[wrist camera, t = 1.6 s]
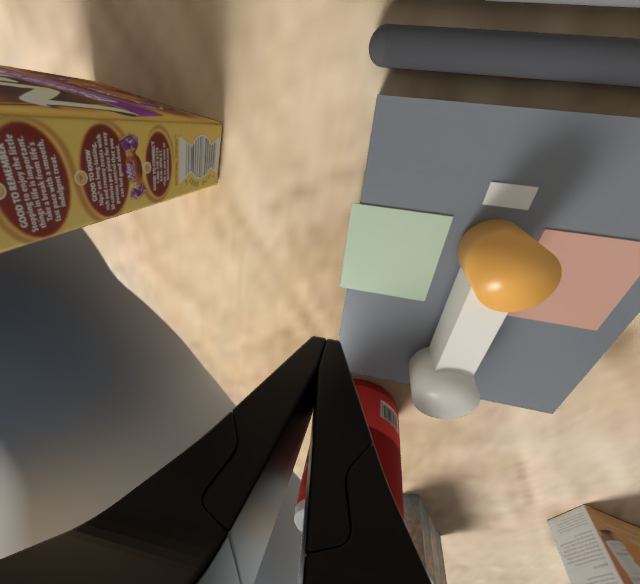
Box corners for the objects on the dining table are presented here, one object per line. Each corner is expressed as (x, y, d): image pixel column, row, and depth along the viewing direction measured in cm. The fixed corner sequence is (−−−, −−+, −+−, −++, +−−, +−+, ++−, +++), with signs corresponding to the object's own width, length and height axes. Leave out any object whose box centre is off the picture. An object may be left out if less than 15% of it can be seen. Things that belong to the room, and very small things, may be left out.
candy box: (224, 115, 18) (-200, 101, 5) (220, 185, 20) (-72, 300, 7) (92, 73, 18) (-659, -50, 5) (103, 146, 20) (-387, 192, 7)
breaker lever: (457, 391, 23) (470, 437, 20) (402, 380, 23) (406, 423, 20) (544, 224, 16) (588, 253, 12) (461, 213, 16) (482, 238, 13)
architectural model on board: (395, 491, 37) (398, 594, 29) (418, 491, 36) (428, 598, 28) (418, 531, 42) (427, 630, 34) (439, 532, 41) (454, 634, 33)
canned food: (327, 368, 27) (298, 494, 18) (408, 389, 27) (422, 531, 18) (315, 415, 32) (287, 537, 22) (386, 434, 31) (387, 568, 22)
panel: (753, 130, 14) (796, 131, 12) (543, 397, 24) (553, 414, 23) (368, 95, 16) (367, 93, 14) (331, 355, 26) (328, 368, 25)
